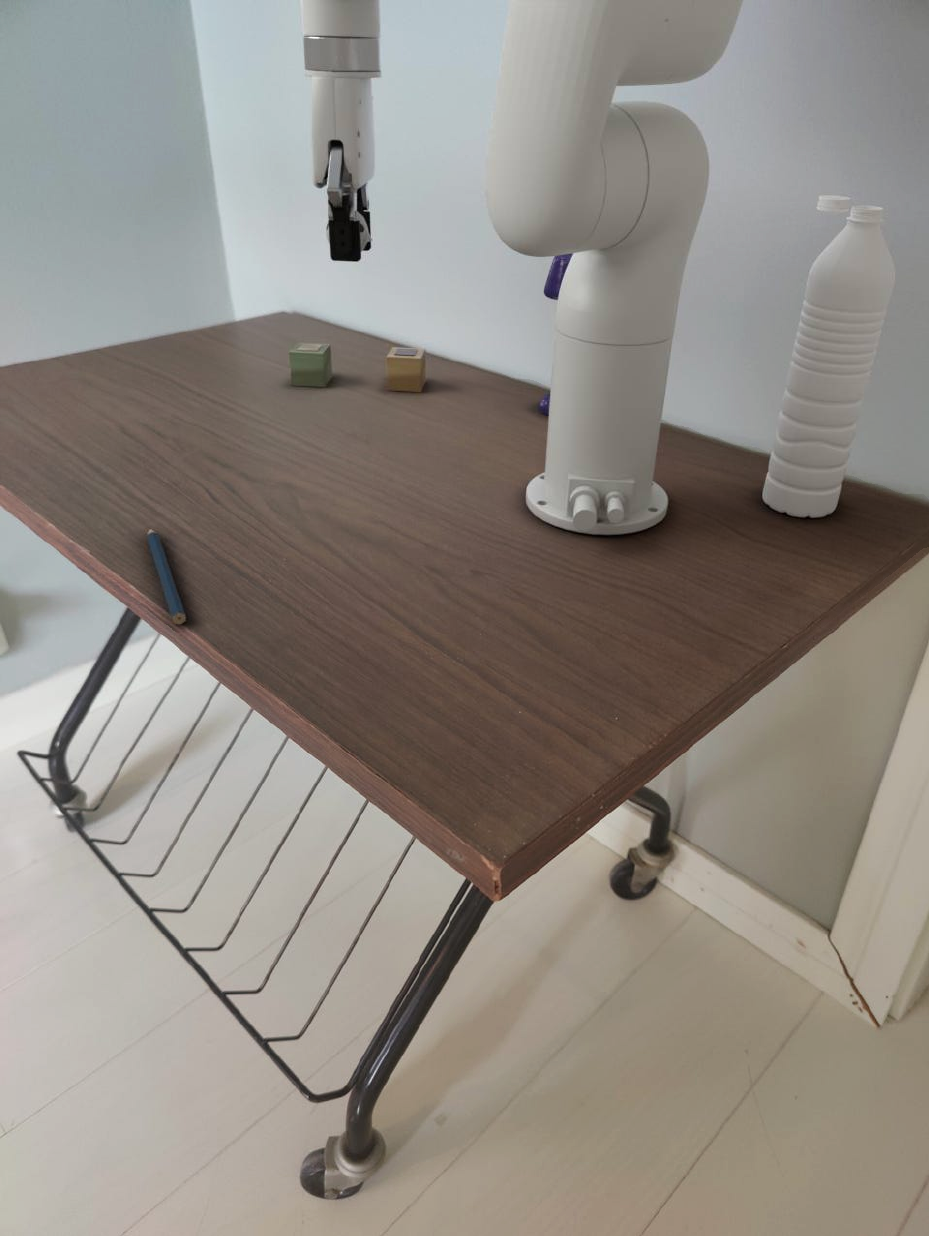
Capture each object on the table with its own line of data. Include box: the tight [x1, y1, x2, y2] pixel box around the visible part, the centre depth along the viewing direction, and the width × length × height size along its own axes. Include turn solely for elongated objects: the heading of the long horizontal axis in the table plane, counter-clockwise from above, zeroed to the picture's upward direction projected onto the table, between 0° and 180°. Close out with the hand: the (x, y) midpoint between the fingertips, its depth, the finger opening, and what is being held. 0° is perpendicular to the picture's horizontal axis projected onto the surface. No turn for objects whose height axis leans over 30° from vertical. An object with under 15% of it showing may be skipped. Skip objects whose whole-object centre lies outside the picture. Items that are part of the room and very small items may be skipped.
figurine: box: [325, 212, 373, 253], centre depth 98 cm, size 5×5×5 cm
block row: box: [288, 342, 427, 393], centre depth 108 cm, size 4×16×4 cm, turn 84°
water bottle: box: [762, 194, 896, 519], centre depth 77 cm, size 9×6×25 cm
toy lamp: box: [537, 253, 573, 416], centre depth 98 cm, size 5×5×17 cm
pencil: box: [147, 528, 187, 626], centre depth 70 cm, size 1×1×15 cm
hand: (351, 253), depth 99 cm, fingers closed on figurine, 5 cm apart
